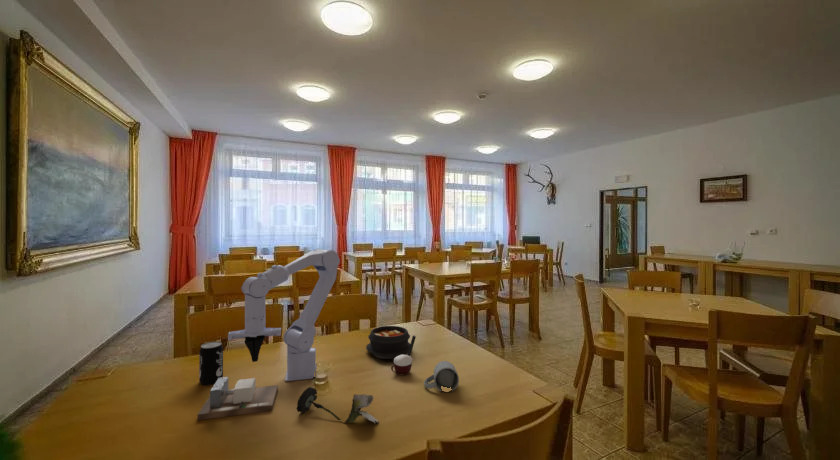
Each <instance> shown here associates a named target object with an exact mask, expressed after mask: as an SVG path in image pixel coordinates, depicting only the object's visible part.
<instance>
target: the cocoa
mask: <svg viewBox="0 0 840 460" xmlns="http://www.w3.org/2000/svg"><path fill="white" fill-rule="evenodd" d="M416 337H417V335H412V338H411V341H410V347H409V351H408V354H407V355H399V356H397V357H395V358H394V359H393V365H392V366H391V368H390V370H391V371H392V372H393V373H394V374H398V375H399V374H403V375H402V376H405V375H404V374H406V375H408V374H409V373H410V371H411V369H412V366H413V364H412V363H413V358H412V357H411V354H412V351H413V348H414V345H415V341H416ZM407 373H408V374H407Z"/></svg>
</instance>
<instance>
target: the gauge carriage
mask: <svg viewBox="0 0 840 460" xmlns="http://www.w3.org/2000/svg"><path fill="white" fill-rule="evenodd" d="M255 388H256V377H254V378H253V377H252V378H244V379H238V381H237V382H236V384H235V386H234V388H233V389H228V390H226V395H233V404H237V403H241V404H240V406H239V408H240V407H242V405H243V403H245V402H251V401H252V399H253V396H254V394H255Z"/></svg>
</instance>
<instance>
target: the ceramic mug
mask: <svg viewBox="0 0 840 460" xmlns="http://www.w3.org/2000/svg"><path fill="white" fill-rule="evenodd" d="M459 377H460V376H459V374H458V371H457V369H456V367H455V366H454V365H453V363H452V362H450V361H448V360H441V361H439V362H438V363H437V364H435V366H434V370H433V374H432V375H430V376H428V377H427V378H425V379H424V381H423V385H424V387H425V389H427V388H429V390H430V389H434V388H436V389H437V390H438V391H439V392H441V391H442V389H441V386H443V387H447V388H450V387H451V389H452V392H454V391H455V390H456V389H457V388H458V386H459V382H460V378H459ZM428 382H429V383H428ZM453 390H454V391H453Z"/></svg>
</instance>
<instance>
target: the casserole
mask: <svg viewBox="0 0 840 460" xmlns="http://www.w3.org/2000/svg"><path fill="white" fill-rule="evenodd" d="M369 333H370V334H368V339H369V341H370V342H369V343H368V344H367V345H366V346H365V349H366V351H367V352H368V353H370V354H372V355H373V356H374V357H376V358H377V359H380V360H381V359H382V360H384V359H385V360H394V358H395V357H397V356H399V355H407V354H408V351H409V347H410V344H411V342H409V339H410V338H411V335H410V333H409V331H408V329H407V328H404V327H402V326H396V325H383V326H379V327H378V326H377V327H375V328H373V329H371V330H370V332H369Z"/></svg>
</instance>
